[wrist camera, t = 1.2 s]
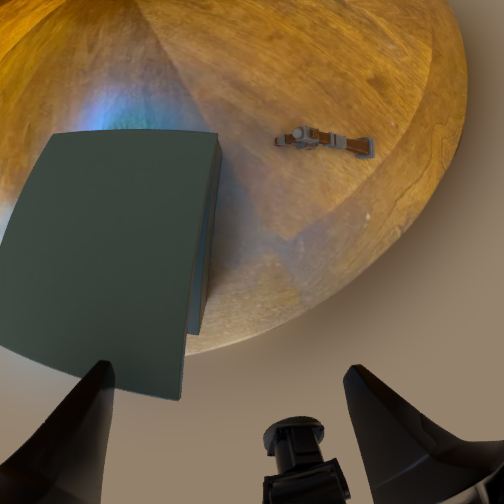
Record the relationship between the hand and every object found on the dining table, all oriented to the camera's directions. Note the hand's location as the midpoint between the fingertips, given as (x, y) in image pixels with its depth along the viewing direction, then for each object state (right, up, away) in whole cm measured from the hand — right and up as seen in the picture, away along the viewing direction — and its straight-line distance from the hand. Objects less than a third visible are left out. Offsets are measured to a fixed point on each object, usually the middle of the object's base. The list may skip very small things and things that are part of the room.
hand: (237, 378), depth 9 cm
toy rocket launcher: (+6, +13, +12) cm, 19 cm away
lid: (-8, +5, +3) cm, 10 cm away
